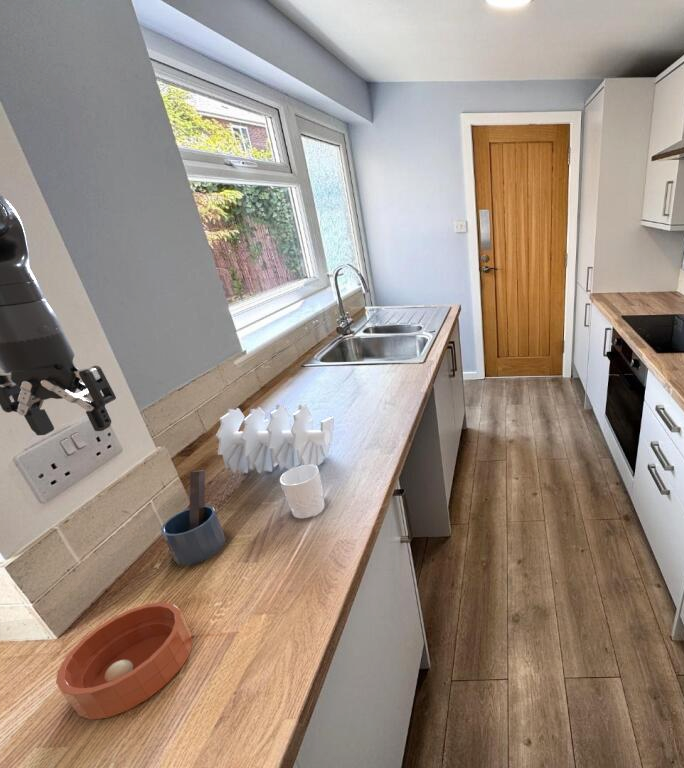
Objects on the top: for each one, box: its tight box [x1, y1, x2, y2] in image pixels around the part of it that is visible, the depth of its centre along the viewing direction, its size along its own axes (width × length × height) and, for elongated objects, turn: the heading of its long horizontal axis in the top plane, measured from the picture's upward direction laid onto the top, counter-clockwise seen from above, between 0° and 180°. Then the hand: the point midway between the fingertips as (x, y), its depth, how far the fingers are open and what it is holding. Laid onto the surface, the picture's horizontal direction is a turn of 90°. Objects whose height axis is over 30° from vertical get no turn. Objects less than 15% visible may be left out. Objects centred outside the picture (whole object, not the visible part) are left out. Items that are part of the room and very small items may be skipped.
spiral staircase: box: [214, 404, 335, 474], centre depth 108 cm, size 18×18×25 cm
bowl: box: [55, 601, 194, 720], centre depth 60 cm, size 14×14×6 cm
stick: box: [189, 469, 206, 531], centre depth 83 cm, size 2×2×16 cm
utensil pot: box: [160, 505, 227, 566], centre depth 82 cm, size 9×9×8 cm
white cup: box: [279, 464, 325, 519], centre depth 92 cm, size 8×8×10 cm
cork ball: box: [105, 660, 133, 683], centre depth 59 cm, size 3×3×3 cm
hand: (75, 431), depth 65 cm, fingers open, 8 cm apart
